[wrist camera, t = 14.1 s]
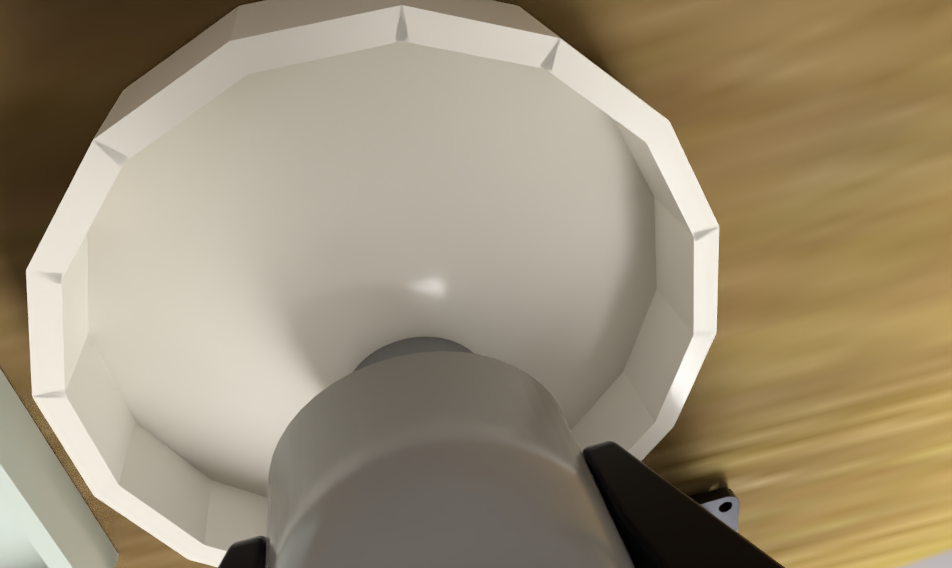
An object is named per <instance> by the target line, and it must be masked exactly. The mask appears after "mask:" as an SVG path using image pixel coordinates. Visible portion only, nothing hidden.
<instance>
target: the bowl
mask: <svg viewBox="0 0 952 568" xmlns="http://www.w3.org/2000/svg"><path fill="white" fill-rule="evenodd" d="M718 253H719V225H718V223H717V221H716V219H715V217H714V215H713V212H712V210H711V208H710V206H709V204H708V202H707V200H706V198H705V196H704V193H703V191H702V189H701V187H700V185H699V183H698V181H697V179H696V177H695V174H694V172H693V170H692V168H691V166H690V164H689V162H688V160H687V157H686V155H685V153H684V151H683V149H682V147H681V145H680V143H679V141H678V138H677V136H676V134H675V132H674V130H673V128H672V126H671V124H670V122H669V120H667V119H666V118H665V117H664V116H662V115H661V114H660V113H658V112H657V111H656V110H655V109H653V108H652V107H651V106H649V105H648V104H647V103H645V102H644V101H643V100H642V99H640V98H639V97H638V96H636V95H635V94H634V93H632V92H631V91H630V90H629V89H627V88H626V87H625V86H623V85H622V84H621V83H620V82H618V81H617V80H616V79H614V78H613V77H611V76H610V75H609V74H608V73H606V72H605V71H604V70H602V69H601V68H600V67H598V66H597V65H596V64H594V63H593V62H592V61H590V60H589V59H588V58H586V57H585V56H584V55H583V54H581V53H580V52H579V51H577V50H576V49H575V48H573V47H572V46H571V45H569V44H568V43H567V42H565V41H564V40H563V39H561V38H560V37H559V36H558V35H556V34H555V33H554V32H552V31H551V30H550V29H548V28H547V27H546V26H544V25H543V24H542V23H540V22H539V21H538V20H536V19H535V18H534V17H533V16H531V15H530V14H529V13H527V12H526V11H525V10H523V9H522V8H521V7H520V6H517V5H513V4H508V3H503V2H499V1H494V0H265V1H260V2H255V3H250V4H245V5H240V6H238V7H237V8H235V9H234V10H232V11H231V12H230V13H228V14H227V15H226V16H224V17H223V18H221V19H220V20H219V21H217V22H216V23H215V24H213V25H212V26H210V27H209V28H208V29H206V30H205V31H204V32H202V33H201V34H200V35H198V36H197V37H195V38H194V39H193V40H191V41H190V42H189V43H187V44H186V45H184V46H183V47H182V48H180V49H179V50H178V51H176V52H175V53H173V54H172V55H171V56H169V57H168V58H167V59H165V60H164V61H162V62H161V63H160V64H158V65H157V66H156V67H154V68H153V69H151V70H150V71H149V72H147V73H146V74H145V75H143V76H142V77H140V78H139V79H138V80H136V81H135V82H134V83H132V84H131V85H129V86H128V87H127V88H125V89H124V90H123V92H122V93H121V95H120V96H119V98H118V100H117V101H116V103H115V105H114V106H113V108H112V109H111V111H110V113H109V114H108V116H107V118H106V119H105V121H104V122H103V124H102V126H101V127H100V129H99V131H98V132H97V134H96V135H95V137H94V139H93V141H92V143H91V145H90V147H89V149H88V151H87V152H86V154H85V156H84V158H83V160H82V162H81V164H80V166H79V168H78V170H77V172H76V174H75V176H74V178H73V180H72V182H71V184H70V186H69V188H68V189H67V191H66V193H65V195H64V197H63V199H62V201H61V203H60V205H59V207H58V209H57V211H56V213H55V215H54V217H53V219H52V221H51V223H50V225H49V226H48V228H47V230H46V232H45V234H44V236H43V238H42V240H41V242H40V244H39V246H38V248H37V250H36V252H35V254H34V256H33V258H32V260H31V262H30V263H29V265H28V267H27V269H26V282H27V302H28V322H29V342H30V362H31V382H32V397H33V399H34V400H35V402H36V404H37V405H38V407H39V409H40V410H41V412H42V413H43V415H44V417H45V418H46V420H47V421H48V423H49V425H50V426H51V428H52V429H53V431H54V433H55V434H56V436H57V437H58V439H59V441H60V442H61V444H62V445H63V447H64V449H65V450H66V452H67V453H68V455H69V457H70V458H71V460H72V461H73V463H74V465H75V466H76V468H77V469H78V471H79V473H80V474H81V476H82V478H83V479H84V481H85V482H86V484H87V486H88V487H89V489H90V490H91V492H92V494H93V495H94V496H95V497H96V498H98V499H99V500H101V501H102V502H104V503H105V504H107V505H108V506H110V507H111V508H113V509H114V510H116V511H117V512H119V513H120V514H122V515H123V516H124V517H126V518H127V519H129V520H130V521H132V522H133V523H135V524H136V525H138V526H139V527H141V528H142V529H144V530H145V531H147V532H148V533H150V534H151V535H153V536H154V537H156V538H157V539H159V540H160V541H162V542H163V543H165V544H166V545H168V546H169V547H170V548H172V549H173V550H175V551H176V552H178V553H179V554H181V555H182V556H184V557H185V558H187V559H188V560H192V561H196V562H200V563H203V564H207V565H211V566H215V567H218V566H219V564H220V563H221V561H222V559H223V557H224V556H225V554H226V552H227V550H228V549H229V547H230V546H231V545H232V544H233V543H235V542H238V541H242V540H245V539H249V538H253V537H256V536H265V537H266V535H267V503H268V477H269V468H270V464H271V460H272V456H273V453H274V451H275V448H276V446H277V444H278V441H279V439H280V438H281V436H282V434H283V433H284V431H285V429H286V428H287V426H288V425H289V423H290V422H291V421H292V420H293V418H294V417H295V416H296V415H297V414H298V412H299V411H300V410H301V409H302V408H303V407H304V406H305V405H306V404H307V403H308V402H310V401H311V400H312V399H313V398H314V397H315V396H316V395H317V394H319V393H320V392H322V391H323V390H324V389H326V388H327V387H328V386H330V385H331V384H333V383H334V382H336V381H338V380H340V379H341V378H343V377H345V376H347V375H348V374H350V373H352V372H353V371H354V370H355V368H356V367H357V366H358V365H359V364H360V363H361V362H362V361H363V360H364V359H365V358H366V357H368V356H369V355H370V354H372V353H373V352H375V351H376V350H378V349H380V348H382V347H384V346H386V345H388V344H391V343H393V342H396V341H399V340H403V339H408V338H413V337H437V338H443V339H447V340H451V341H454V342H456V343H459V344H461V345H463V346H464V347H466V348H468V349H469V350H470V351H472V352H473V353H474V354H479V355H483V356H487V357H491V358H495V359H498V360H501V361H503V362H506V363H508V364H511V365H513V366H515V367H517V368H519V369H520V370H522V371H524V372H526V373H527V374H529V375H531V376H532V377H533V378H534V379H536V380H537V381H538V382H539V383H541V384H542V385H543V386H544V387H545V388H546V389H547V390H548V392H549V393H550V394H551V395H552V396H553V397H554V399H555V400H556V402H557V404H558V405H559V407H560V408H561V410H562V412H563V414H564V417H565V419H566V421H567V423H568V425H569V427H570V429H571V431H572V434H573V436H574V438H575V440H576V442H577V444H578V446H579V448H580V451H581V453H582V451H583V449H584V448H586V447H588V446H591V445H595V444H599V443H602V442H606V441H613V442H615V443H617V444H618V445H620V446H621V447H622V448H624V449H625V450H627V451H628V452H629V453H631V454H632V455H633V456H635V457H636V458H637V459H639V460H640V461H642V460H643V459H644V458H645V457H646V456H647V454H648V453H649V452H650V451H651V450H652V449H653V448H654V447H655V446H656V445H657V444H658V443H659V442H660V441H661V440H662V439H663V438H664V436H665V435H666V434H667V433H668V432H669V431H670V430H671V429H672V428H673V427H674V425H675V423H676V421H677V419H678V416H679V414H680V412H681V410H682V408H683V405H684V403H685V401H686V399H687V397H688V394H689V392H690V390H691V388H692V386H693V383H694V381H695V379H696V377H697V374H698V372H699V370H700V368H701V366H702V363H703V361H704V359H705V357H706V355H707V352H708V350H709V348H710V346H711V344H712V341H713V339H714V337H715V335H716V333H717V294H718Z"/></svg>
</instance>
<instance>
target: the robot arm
mask: <svg viewBox="0 0 952 568" xmlns="http://www.w3.org/2000/svg"><path fill="white" fill-rule="evenodd" d="M582 455H583V457H584V459H585V461H586V463H587V465H588V468H589V470H590V472H591V474H592V476H593V478H594V480H595V483H596V485H597V487H598V489H599V491H600V493H601V495H602V497H603V500H604V502H605V504H606V506H607V508H608V510H609V512H610V514H611V517H612V519H613V521H614V523H615V525H616V527H617V529H618V531H619V534H620V536H621V538H622V540H623V542H624V544H625V546H626V548H627V551H628V553H629V555H630V557H631V559H632V561H633V563H634V565H635V568H785V567H783V566H782V565H781V564H779V563H778V562H777V561H775V560H774V559H773V558H771V557H770V556H768V555H767V554H766V553H764V552H763V551H762V550H760V549H759V548H758V547H756V546H755V545H754V544H752V543H751V542H750V541H748V540H747V539H746V538H744V537H743V536H741V535H740V534H739V533H738V515H739V501H738V499H737V497H736V496H735V494H734V493H733V491H732V490H731V489H729V488H721V489H717V490H713V491H710V492H706V493H703V494H699V495H696V496H692V497H689V496H687V495H686V494H685V493H683V492H682V491H681V490H679V489H678V488H677V487H675V486H674V485H673V484H671V483H670V482H668V481H667V480H666V479H664V478H663V477H662V476H660V475H659V474H658V473H656V472H655V471H654V470H652V469H651V468H650V467H648V466H647V465H645V464H644V463H643V462H641V461H640V460H639V459H637V458H636V457H635V456H633V455H632V454H631V453H629V452H628V451H627V450H625V449H624V448H622V447H621V446H620V445H618V444H617V443H615V442H613V441H606V442H602V443H599V444H595V445H591V446H588V447H586V448H584V449H583V451H582ZM265 566H266V537H265V536H256V537H253V538H249V539H245V540H242V541H238V542H235V543H233V544H232V545H231V546H230V547H229V549H228V550H227V552H226V554H225V556H224V557H223V559H222V561H221V563H220V564H219V566H218V568H265Z"/></svg>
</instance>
